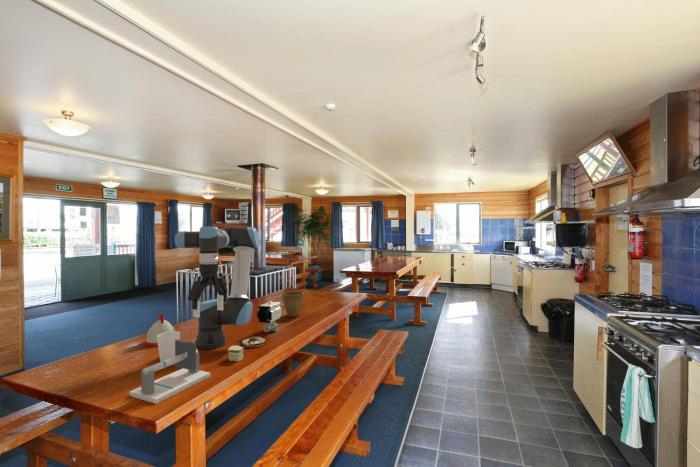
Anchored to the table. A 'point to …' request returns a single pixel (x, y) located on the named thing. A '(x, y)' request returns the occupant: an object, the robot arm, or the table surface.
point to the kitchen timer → (158, 330)
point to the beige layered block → (235, 353)
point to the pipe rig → (167, 380)
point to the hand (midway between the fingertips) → (208, 313)
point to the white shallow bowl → (253, 342)
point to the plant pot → (293, 302)
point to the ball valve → (270, 315)
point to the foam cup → (167, 344)
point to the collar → (190, 349)
